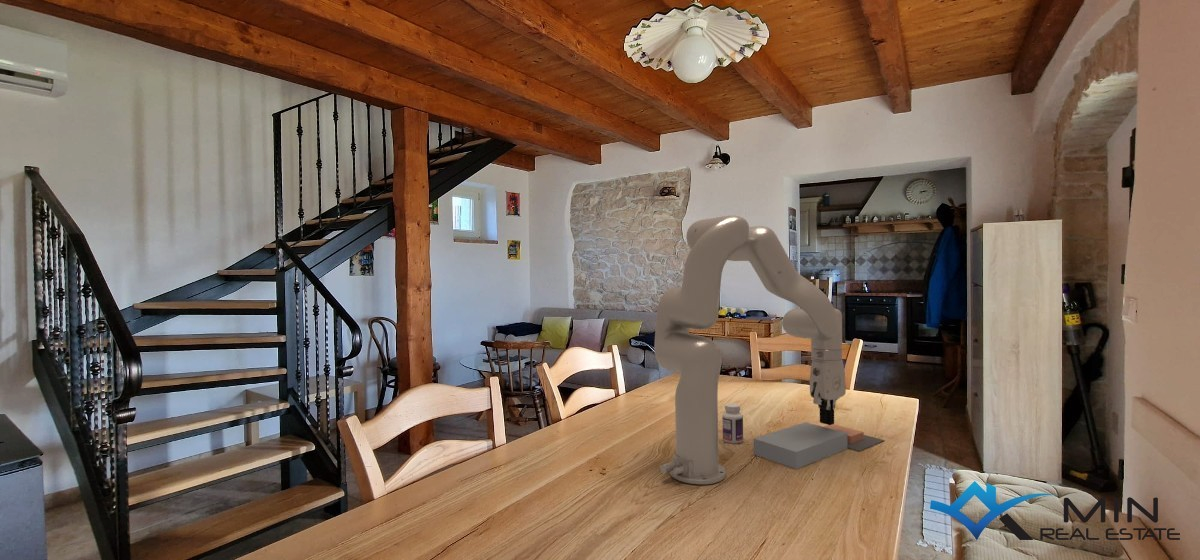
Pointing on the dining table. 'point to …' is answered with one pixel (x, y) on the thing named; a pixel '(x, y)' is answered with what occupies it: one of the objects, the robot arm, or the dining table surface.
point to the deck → (800, 444)
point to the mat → (864, 443)
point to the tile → (848, 433)
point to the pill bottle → (732, 424)
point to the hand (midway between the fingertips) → (826, 423)
